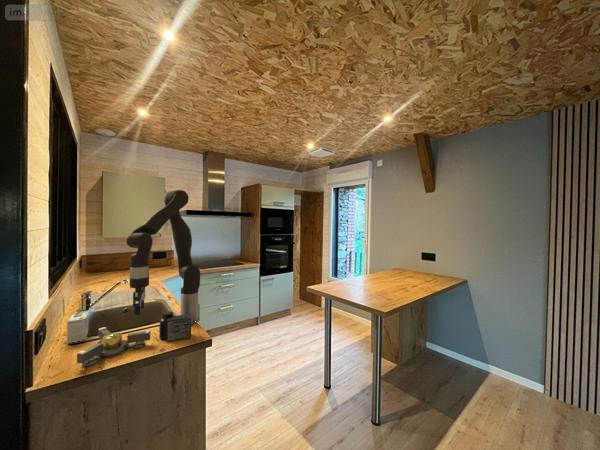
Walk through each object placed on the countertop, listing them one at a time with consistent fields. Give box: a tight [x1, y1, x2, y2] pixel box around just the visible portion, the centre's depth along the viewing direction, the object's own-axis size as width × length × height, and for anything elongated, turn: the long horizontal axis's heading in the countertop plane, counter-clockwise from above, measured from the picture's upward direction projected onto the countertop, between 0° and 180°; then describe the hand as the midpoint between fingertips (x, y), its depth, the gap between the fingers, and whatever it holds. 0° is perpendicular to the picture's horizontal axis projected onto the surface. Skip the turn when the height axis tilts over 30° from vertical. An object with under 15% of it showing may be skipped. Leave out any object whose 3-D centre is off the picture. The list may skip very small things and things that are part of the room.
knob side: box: [98, 326, 112, 342], centre depth 114 cm, size 9×2×5 cm, turn 54°
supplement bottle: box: [158, 310, 174, 341], centre depth 121 cm, size 7×7×12 cm
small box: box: [166, 314, 192, 343], centre depth 121 cm, size 11×6×10 cm, turn 112°
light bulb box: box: [66, 311, 89, 345], centre depth 119 cm, size 11×7×11 cm, turn 35°
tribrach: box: [81, 332, 146, 368], centre depth 108 cm, size 22×21×7 cm
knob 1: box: [76, 342, 103, 364], centre depth 98 cm, size 9×2×5 cm, turn 174°
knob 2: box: [126, 329, 151, 344], centre depth 112 cm, size 9×2×5 cm, turn 114°
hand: (139, 311), depth 112 cm, fingers open, 8 cm apart
